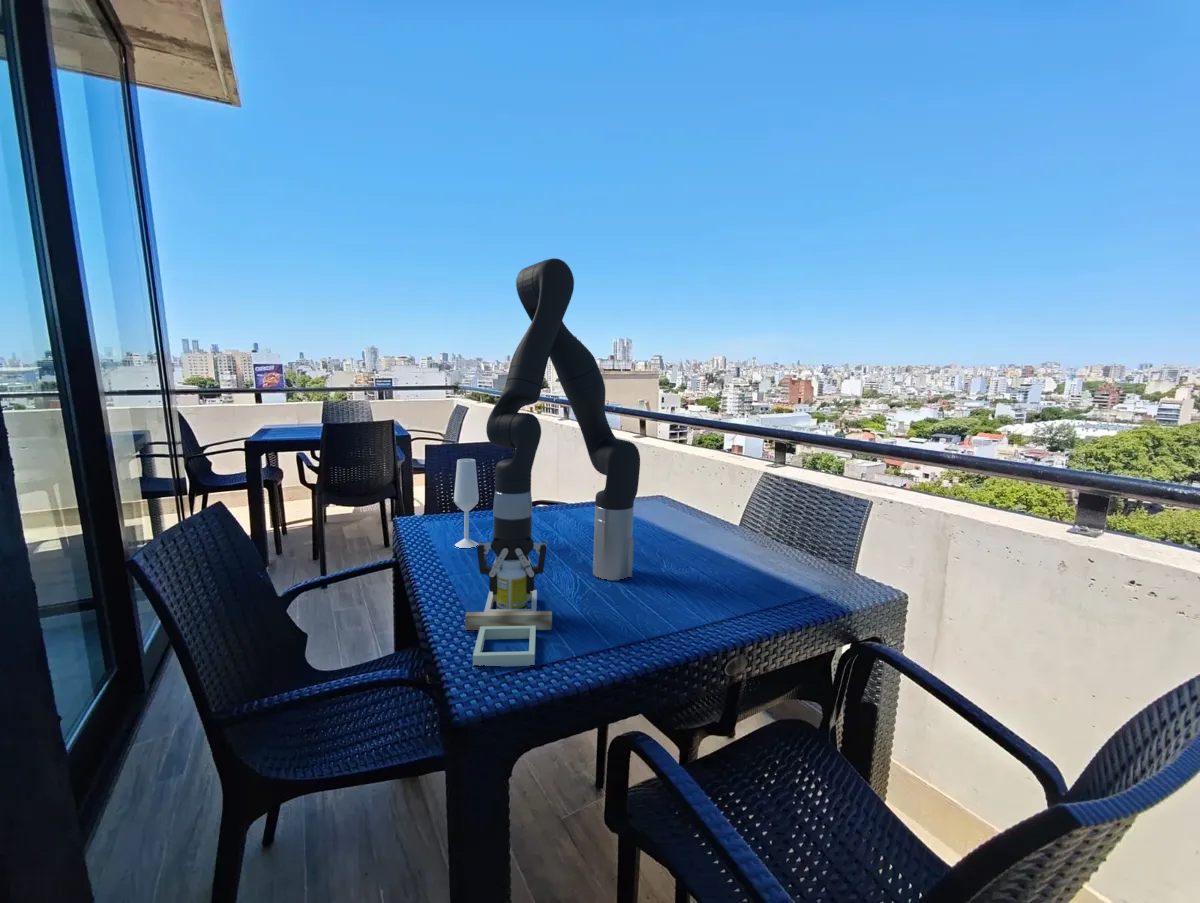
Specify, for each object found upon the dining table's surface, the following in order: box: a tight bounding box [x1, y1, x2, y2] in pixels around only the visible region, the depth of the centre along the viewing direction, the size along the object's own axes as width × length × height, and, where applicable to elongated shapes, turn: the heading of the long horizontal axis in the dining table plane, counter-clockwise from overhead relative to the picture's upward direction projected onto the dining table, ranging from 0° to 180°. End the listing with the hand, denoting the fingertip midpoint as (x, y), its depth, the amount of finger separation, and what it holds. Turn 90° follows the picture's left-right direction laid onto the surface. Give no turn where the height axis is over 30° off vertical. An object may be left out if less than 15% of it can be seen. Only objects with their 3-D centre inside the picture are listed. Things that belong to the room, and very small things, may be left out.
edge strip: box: [464, 610, 553, 632], centre depth 98 cm, size 16×2×3 cm, turn 96°
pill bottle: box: [496, 560, 528, 609], centre depth 105 cm, size 6×6×11 cm
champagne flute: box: [453, 458, 480, 549], centre depth 143 cm, size 7×7×24 cm
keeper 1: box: [483, 589, 538, 612], centre depth 106 cm, size 10×10×2 cm
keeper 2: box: [472, 626, 537, 667], centre depth 90 cm, size 10×10×2 cm
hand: (511, 592), depth 105 cm, fingers closed on pill bottle, 6 cm apart
